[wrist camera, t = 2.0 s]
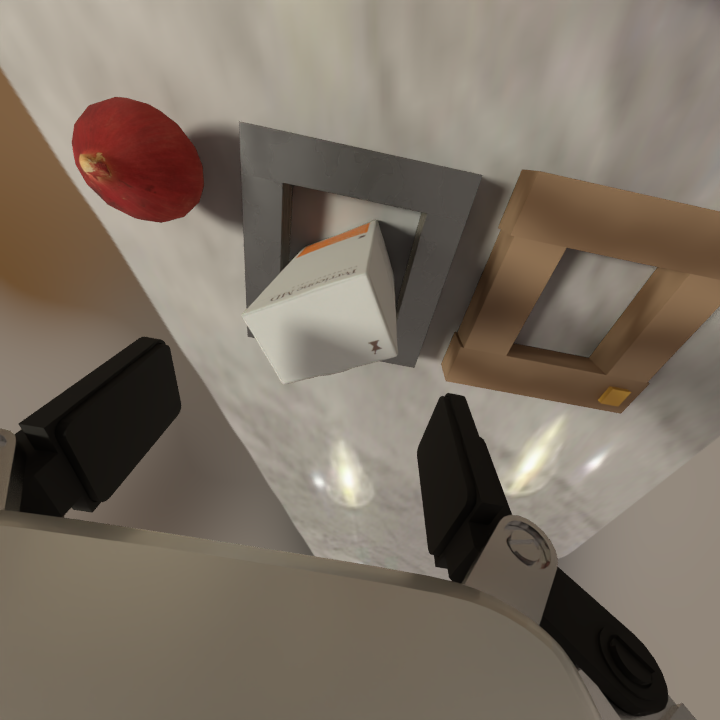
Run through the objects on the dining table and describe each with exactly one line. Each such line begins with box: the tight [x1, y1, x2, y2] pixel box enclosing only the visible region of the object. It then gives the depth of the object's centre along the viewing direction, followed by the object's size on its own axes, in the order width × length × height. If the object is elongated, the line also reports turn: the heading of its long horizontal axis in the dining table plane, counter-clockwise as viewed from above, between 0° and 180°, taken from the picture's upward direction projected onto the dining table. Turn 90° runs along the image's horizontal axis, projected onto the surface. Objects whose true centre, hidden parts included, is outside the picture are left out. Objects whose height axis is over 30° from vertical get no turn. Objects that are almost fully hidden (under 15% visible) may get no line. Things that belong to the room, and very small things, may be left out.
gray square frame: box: [239, 121, 483, 368], centre depth 22 cm, size 14×14×2 cm
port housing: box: [441, 170, 720, 413], centre depth 22 cm, size 16×16×3 cm
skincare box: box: [242, 220, 398, 384], centre depth 18 cm, size 6×4×12 cm
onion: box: [72, 97, 204, 223], centre depth 17 cm, size 6×6×8 cm
